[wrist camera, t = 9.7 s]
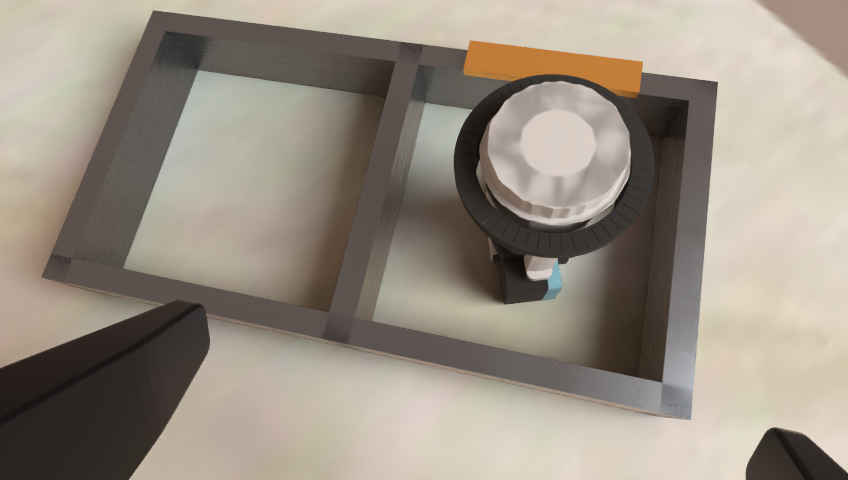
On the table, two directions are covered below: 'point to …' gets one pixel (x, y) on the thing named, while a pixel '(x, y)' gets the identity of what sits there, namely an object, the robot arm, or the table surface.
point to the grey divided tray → (395, 193)
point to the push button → (551, 176)
